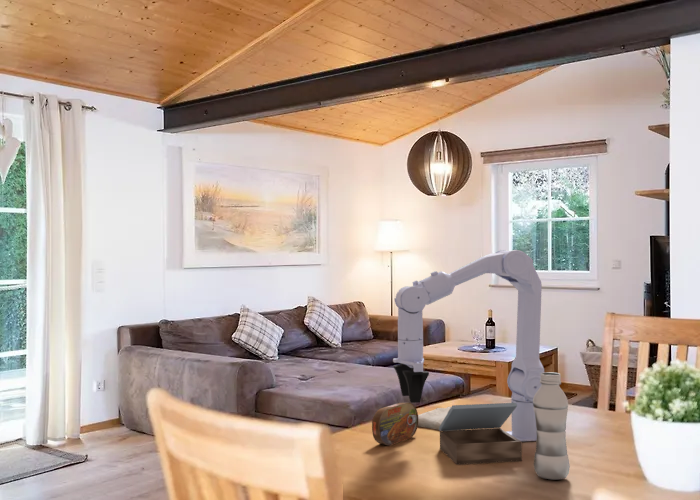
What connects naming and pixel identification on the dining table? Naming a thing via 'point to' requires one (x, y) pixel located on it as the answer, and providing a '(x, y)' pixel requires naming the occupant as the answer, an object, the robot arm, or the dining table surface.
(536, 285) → the robot arm
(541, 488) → the dining table surface
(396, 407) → the tin
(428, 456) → the dining table surface
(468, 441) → the box
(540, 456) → the plastic bottle
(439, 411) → the washcloth
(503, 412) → the lid
